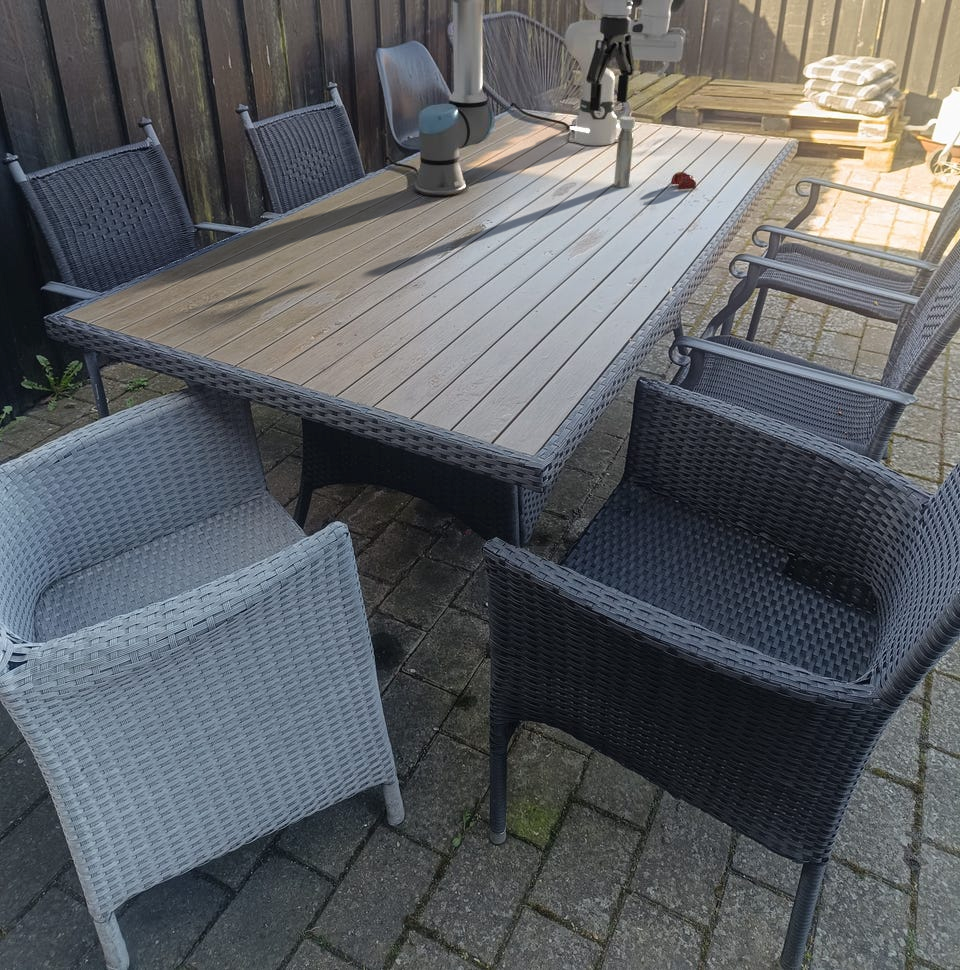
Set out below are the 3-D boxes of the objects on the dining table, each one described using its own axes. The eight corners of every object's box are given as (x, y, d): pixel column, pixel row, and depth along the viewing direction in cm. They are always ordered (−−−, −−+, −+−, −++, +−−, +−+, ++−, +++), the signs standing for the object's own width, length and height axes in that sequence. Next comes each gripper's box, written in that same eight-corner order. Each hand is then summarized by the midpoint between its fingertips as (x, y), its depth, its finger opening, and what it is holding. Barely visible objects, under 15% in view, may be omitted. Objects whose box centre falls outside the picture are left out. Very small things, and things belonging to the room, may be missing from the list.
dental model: (687, 168, 262) (698, 175, 256) (685, 181, 264) (697, 189, 258) (670, 170, 261) (681, 177, 255) (669, 183, 263) (680, 191, 257)
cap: (622, 124, 255) (623, 115, 253) (636, 126, 253) (637, 117, 251) (617, 127, 252) (617, 118, 250) (630, 129, 250) (631, 120, 248)
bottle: (617, 182, 265) (623, 117, 254) (630, 184, 263) (637, 118, 252) (611, 186, 262) (617, 120, 250) (625, 188, 260) (631, 121, 248)
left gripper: (602, 22, 204) (595, 116, 216) (653, 12, 219) (644, 100, 232) (576, 19, 207) (570, 112, 220) (628, 10, 223) (620, 96, 236)
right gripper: (683, 26, 259) (674, 75, 267) (619, 22, 256) (612, 72, 264) (690, 29, 254) (680, 79, 262) (624, 25, 251) (617, 76, 259)
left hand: (608, 106), depth 226 cm, fingers open, 13 cm apart
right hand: (645, 76), depth 263 cm, fingers open, 8 cm apart
